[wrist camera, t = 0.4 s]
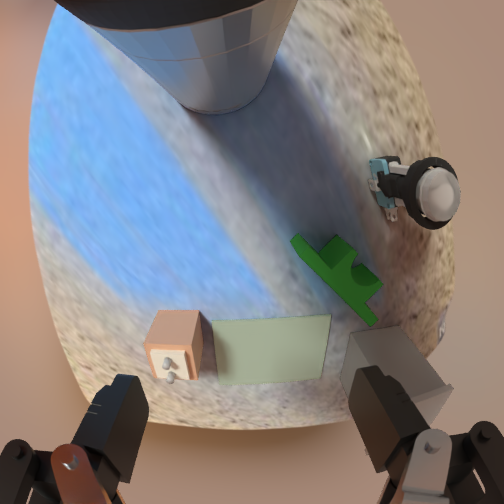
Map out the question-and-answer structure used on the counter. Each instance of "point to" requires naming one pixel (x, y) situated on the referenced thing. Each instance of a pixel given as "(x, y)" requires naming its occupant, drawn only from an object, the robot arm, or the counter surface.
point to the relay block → (175, 345)
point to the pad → (270, 349)
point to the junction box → (396, 367)
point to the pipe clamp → (341, 273)
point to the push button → (416, 189)
